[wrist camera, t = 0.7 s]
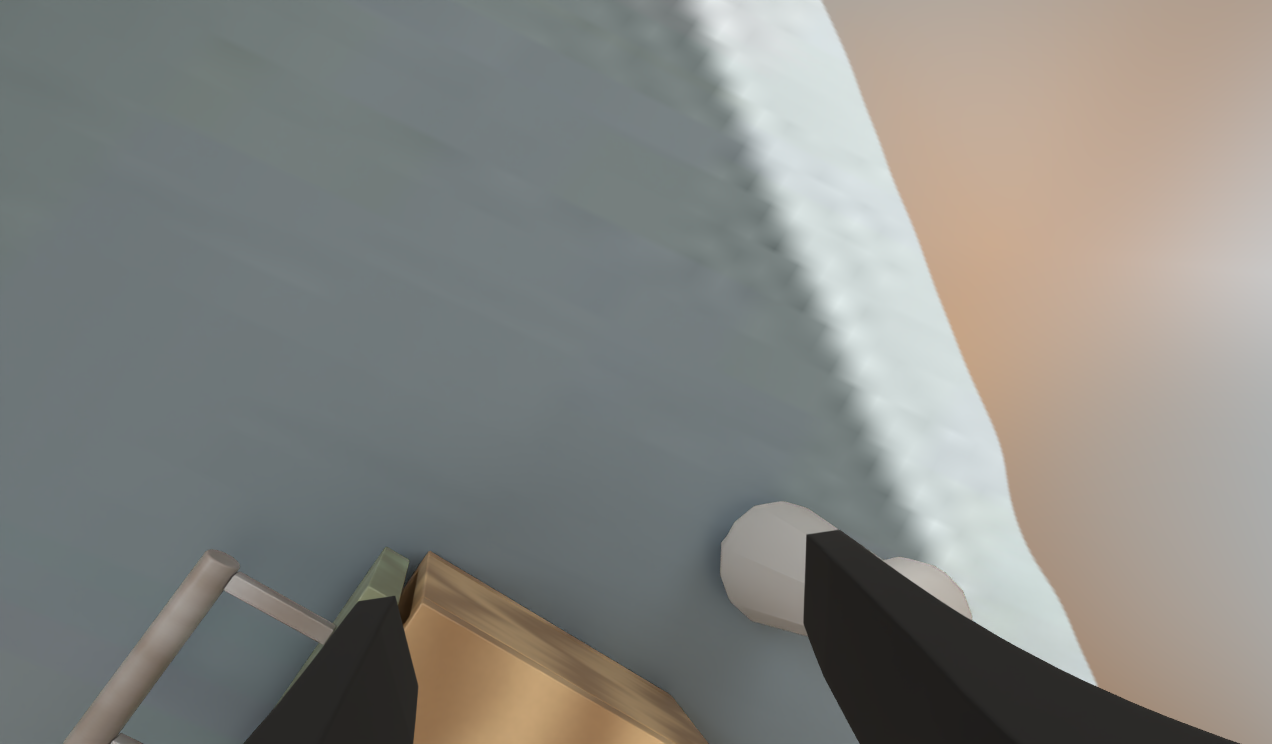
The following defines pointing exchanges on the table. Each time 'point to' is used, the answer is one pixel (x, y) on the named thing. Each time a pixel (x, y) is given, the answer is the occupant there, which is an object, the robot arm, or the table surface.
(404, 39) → the table surface
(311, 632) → the drawer
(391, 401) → the table surface
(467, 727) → the tan wooden box
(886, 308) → the table surface
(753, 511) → the salt shaker
